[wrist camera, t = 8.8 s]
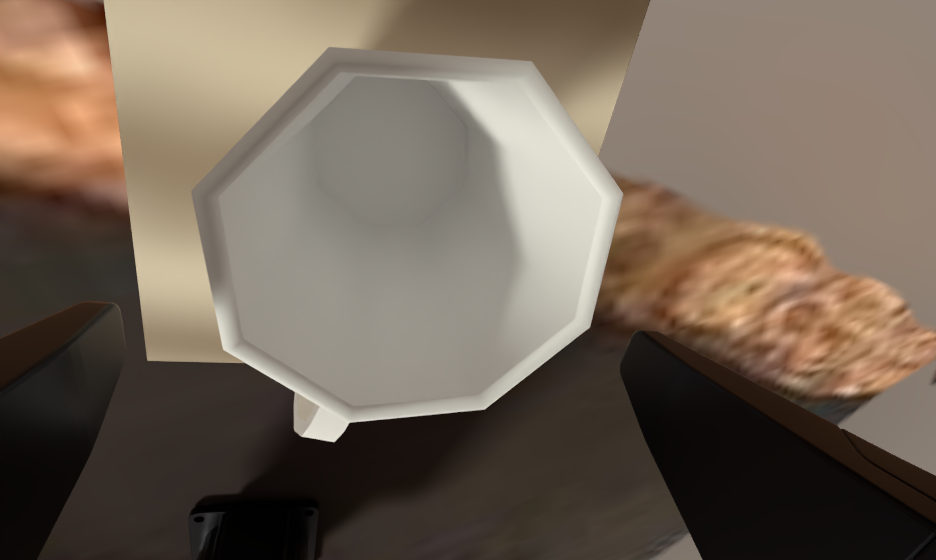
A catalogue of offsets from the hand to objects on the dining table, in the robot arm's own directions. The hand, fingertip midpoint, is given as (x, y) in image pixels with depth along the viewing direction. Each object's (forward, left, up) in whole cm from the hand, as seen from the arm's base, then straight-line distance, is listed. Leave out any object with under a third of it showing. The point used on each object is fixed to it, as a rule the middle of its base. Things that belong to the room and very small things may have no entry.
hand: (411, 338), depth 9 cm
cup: (0, 0, -8) cm, 8 cm away
